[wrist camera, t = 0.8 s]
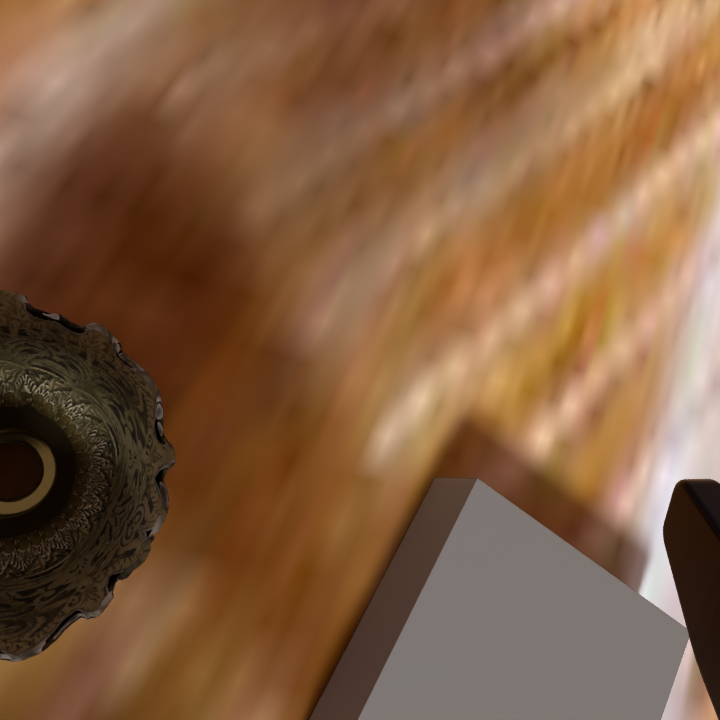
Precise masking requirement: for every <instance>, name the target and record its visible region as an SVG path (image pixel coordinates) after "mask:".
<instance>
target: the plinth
mask: <svg viewBox="0 0 720 720" xmlns="http://www.w3.org/2000/svg"><path fill="white" fill-rule="evenodd" d="M688 639H689V634H688V630H687V628H686V627H684V626H683V625H681V624H680V623H679V622H677V621H676V620H674V619H673V618H672V617H670V616H669V615H667V614H666V613H665V612H663V611H662V610H660V609H659V608H658V607H656V606H655V605H654V604H652V603H651V602H649V601H648V600H647V599H645V598H644V597H642V596H641V595H640V594H638V593H637V592H635V591H634V590H633V589H631V588H630V587H628V586H627V585H626V584H624V583H623V582H621V581H620V580H619V579H617V578H616V577H614V576H613V575H612V574H610V573H609V572H608V571H606V570H605V569H603V568H602V567H601V566H599V565H598V564H596V563H595V562H594V561H592V560H591V559H589V558H588V557H587V556H585V555H584V554H582V553H581V552H580V551H578V550H577V549H575V548H574V547H573V546H571V545H570V544H568V543H567V542H566V541H564V540H563V539H562V538H560V537H559V536H557V535H556V534H555V533H553V532H552V531H550V530H549V529H548V528H546V527H545V526H543V525H542V524H541V523H539V522H538V521H536V520H535V519H534V518H532V517H531V516H529V515H528V514H527V513H525V512H524V511H523V510H521V509H520V508H518V507H517V506H516V505H514V504H513V503H511V502H510V501H509V500H507V499H506V498H504V497H503V496H502V495H500V494H499V493H497V492H496V491H495V490H493V489H492V488H490V487H489V486H488V485H486V484H485V483H483V482H482V481H481V480H479V479H478V478H435V479H434V480H433V482H432V484H431V486H430V488H429V490H428V492H427V494H426V496H425V498H424V500H423V502H422V503H421V505H420V507H419V509H418V511H417V513H416V515H415V517H414V519H413V521H412V523H411V525H410V527H409V528H408V530H407V532H406V534H405V536H404V538H403V540H402V542H401V544H400V546H399V548H398V550H397V552H396V553H395V555H394V557H393V559H392V561H391V563H390V565H389V567H388V569H387V571H386V573H385V575H384V577H383V578H382V580H381V582H380V584H379V586H378V588H377V590H376V592H375V594H374V596H373V598H372V600H371V602H370V603H369V605H368V607H367V609H366V611H365V613H364V615H363V617H362V619H361V621H360V623H359V625H358V626H357V628H356V630H355V632H354V634H353V636H352V638H351V640H350V642H349V644H348V646H347V648H346V650H345V651H344V653H343V655H342V657H341V659H340V661H339V663H338V665H337V667H336V669H335V671H334V673H333V675H332V676H331V678H330V680H329V682H328V684H327V686H326V688H325V690H324V692H323V694H322V696H321V698H320V700H319V701H318V703H317V705H316V707H315V709H314V711H313V713H312V715H311V717H310V719H309V720H661V718H662V715H663V712H664V709H665V706H666V703H667V700H668V697H669V694H670V691H671V688H672V686H673V683H674V680H675V677H676V674H677V671H678V668H679V665H680V662H681V659H682V657H683V654H684V651H685V648H686V645H687V642H688Z"/></svg>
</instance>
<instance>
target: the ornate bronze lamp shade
mask: <svg viewBox="0 0 720 720" xmlns="http://www.w3.org/2000/svg"><path fill="white" fill-rule="evenodd" d="M10 444H16V445H21V446H24V447H27V448H28V449H30V450H31V451H32V452H34V454H35V455H36V456H37V458H38V459H39V462H40V466H41V474H40V478H39V480H38V482H37V484H36V486H35V487H34V488H33V489H32V490H31V491H30V492H29V493H27V494H26V495H24V496H22V497H19V498H15V499H1V498H0V660H8V661H11V662H15V661H22V660H26V659H28V658H30V657H33V656H35V655H37V654H39V653H41V652H42V651H44V650H45V649H47V648H48V647H49V646H50V645H51V644H52V643H54V642H55V641H56V640H57V639H58V638H59V637H60V636H61V634H62V633H63V632H64V631H65V630H66V629H67V628H68V627H69V626H70V625H71V624H73V623H74V622H75V621H77V620H78V619H79V618H81V617H83V618H86V619H90V618H95V617H98V616H99V615H100V614H101V613H102V612H103V611H104V610H105V608H106V607H107V606H108V604H109V603H110V601H111V600H112V599H113V598H114V596H113V590H114V587H115V583H116V582H117V581H118V580H123V579H126V578H128V577H129V576H130V574H131V573H132V572H133V571H134V570H135V569H136V568H138V567H139V566H140V565H141V564H142V563H143V562H144V561H145V560H146V558H147V556H148V555H149V552H150V549H151V543H152V541H153V540H154V538H155V537H154V536H153V534H155V533H157V532H158V531H159V530H160V528H161V526H162V524H163V522H164V521H165V519H166V516H167V512H168V507H169V498H168V491H167V488H166V486H165V483H164V476H165V475H166V473H167V471H168V470H169V469H170V468H171V467H172V466H173V465H174V464H175V452H174V447H173V446H172V445H171V444H170V443H169V442H168V441H167V439H166V438H165V436H164V430H163V406H162V400H161V396H160V392H159V389H158V387H157V385H156V383H155V382H154V380H153V379H152V378H151V376H150V375H149V374H148V373H147V372H146V371H145V370H144V369H143V368H142V367H141V366H140V365H139V364H137V363H136V362H135V361H133V360H132V359H131V358H129V357H128V356H127V355H126V354H125V353H124V352H123V351H122V346H121V344H120V342H119V341H118V340H117V338H116V337H115V336H114V335H113V334H112V332H110V331H109V330H108V329H107V328H106V327H104V326H102V325H100V324H98V323H95V322H93V323H91V324H89V325H82V327H81V326H79V325H77V324H74V323H72V322H70V321H69V320H67V319H66V318H65V317H63V316H62V315H60V314H56V313H48V312H45V311H42V310H39V309H36V308H34V307H33V306H31V305H30V304H29V303H28V301H27V297H26V296H25V295H22V294H19V293H15V292H10V291H5V290H0V447H1V446H4V445H10Z"/></svg>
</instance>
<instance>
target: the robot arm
mask: <svg viewBox="0 0 720 720" xmlns="http://www.w3.org/2000/svg"><path fill="white" fill-rule="evenodd" d="M663 538H664V544H665V548H666V551H667V555H668V559H669V563H670V566H671V570H672V574H673V578H674V581H675V585H676V589H677V593H678V597H679V600H680V604H681V608H682V612H683V615H684V619H685V623H686V627H687V630H688V634H689V638H690V641H691V645H692V648H693V652H694V655H695V659H696V662H697V664H698V667H699V670H700V673H701V675H702V678H703V681H704V683H705V686H706V689H707V691H708V694H709V696H710V699H711V701H712V704H713V707H714V709H715V712H716V714H717V717H718V719H719V720H720V483H718V482H717V481H714V480H712V479H684V480H680V481H679V482H678V483H677V484H676V485H675V488H674V490H673V494H672V497H671V501H670V504H669V508H668V511H667V514H666V518H665V521H664V526H663Z"/></svg>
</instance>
